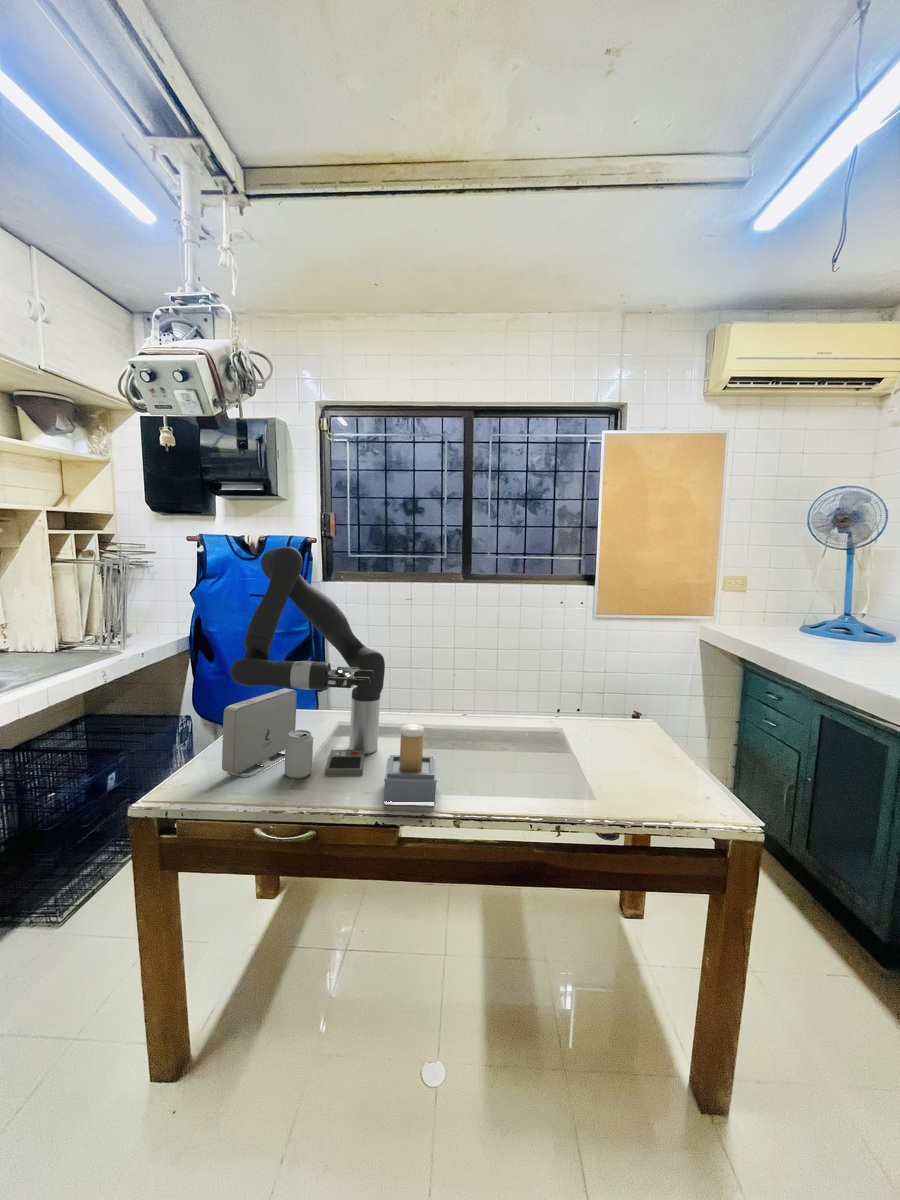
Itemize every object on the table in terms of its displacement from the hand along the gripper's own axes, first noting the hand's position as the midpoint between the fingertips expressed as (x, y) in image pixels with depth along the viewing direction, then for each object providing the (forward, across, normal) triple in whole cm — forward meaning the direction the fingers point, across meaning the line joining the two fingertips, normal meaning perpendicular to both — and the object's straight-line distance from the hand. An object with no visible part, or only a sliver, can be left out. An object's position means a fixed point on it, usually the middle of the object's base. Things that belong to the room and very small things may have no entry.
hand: (371, 678), depth 126 cm
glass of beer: (+12, -4, +23) cm, 26 cm away
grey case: (+12, -4, +30) cm, 33 cm away
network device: (-33, +12, +30) cm, 46 cm away
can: (-20, +6, +30) cm, 37 cm away
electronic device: (-8, +14, +31) cm, 34 cm away
